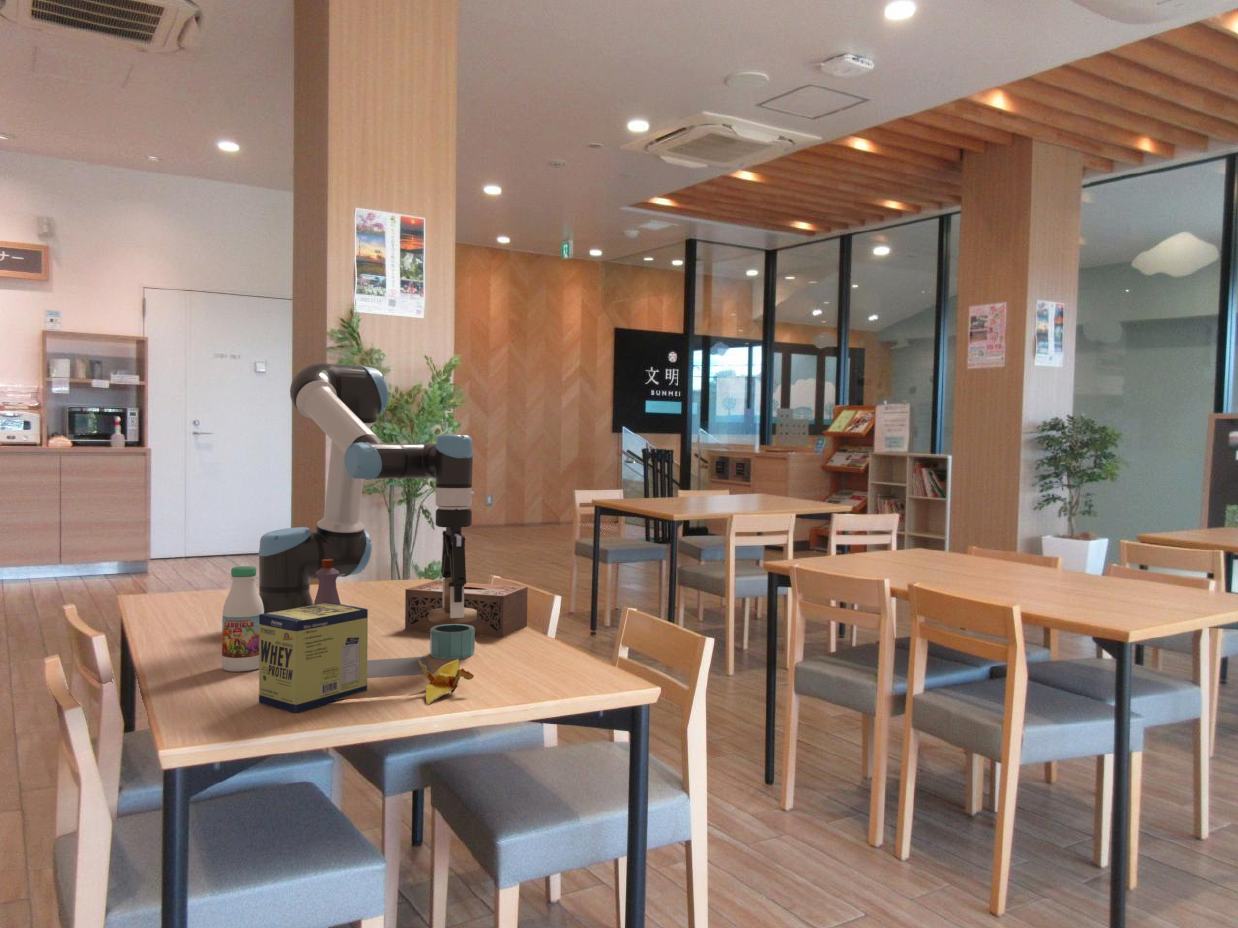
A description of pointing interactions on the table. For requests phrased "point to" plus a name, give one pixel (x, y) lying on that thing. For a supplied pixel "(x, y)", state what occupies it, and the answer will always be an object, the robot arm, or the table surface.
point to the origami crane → (443, 679)
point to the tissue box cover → (493, 603)
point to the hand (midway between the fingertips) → (452, 612)
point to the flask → (327, 583)
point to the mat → (395, 667)
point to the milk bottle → (241, 622)
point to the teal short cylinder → (452, 641)
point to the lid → (444, 613)
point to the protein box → (312, 655)
